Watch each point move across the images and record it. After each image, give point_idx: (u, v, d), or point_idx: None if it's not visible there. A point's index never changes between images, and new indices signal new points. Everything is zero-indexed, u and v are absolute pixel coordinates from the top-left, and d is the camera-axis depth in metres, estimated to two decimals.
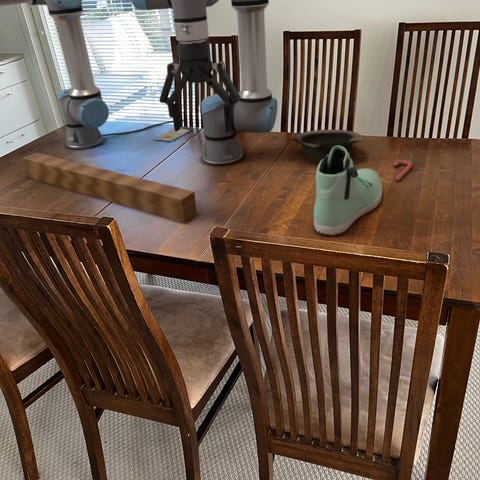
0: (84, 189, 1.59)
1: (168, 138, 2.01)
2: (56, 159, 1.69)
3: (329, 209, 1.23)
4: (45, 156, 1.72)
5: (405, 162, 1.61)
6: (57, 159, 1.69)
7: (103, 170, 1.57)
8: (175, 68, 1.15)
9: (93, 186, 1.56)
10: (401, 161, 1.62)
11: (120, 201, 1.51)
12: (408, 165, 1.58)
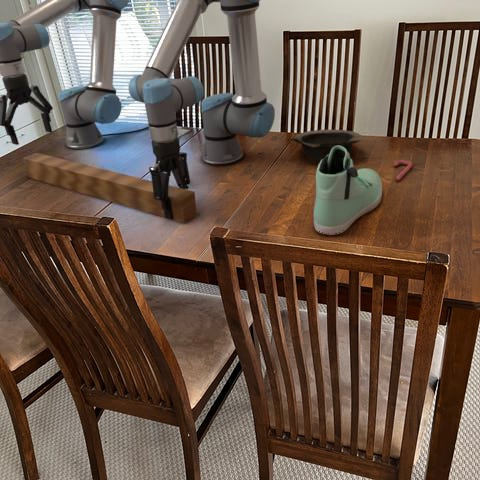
0: (84, 189, 1.59)
1: None
2: (56, 159, 1.69)
3: (329, 209, 1.23)
4: (45, 156, 1.72)
5: (405, 162, 1.61)
6: (57, 159, 1.69)
7: (103, 170, 1.57)
8: (158, 168, 1.31)
9: (93, 186, 1.56)
10: (401, 161, 1.62)
11: (120, 201, 1.51)
12: (408, 165, 1.58)
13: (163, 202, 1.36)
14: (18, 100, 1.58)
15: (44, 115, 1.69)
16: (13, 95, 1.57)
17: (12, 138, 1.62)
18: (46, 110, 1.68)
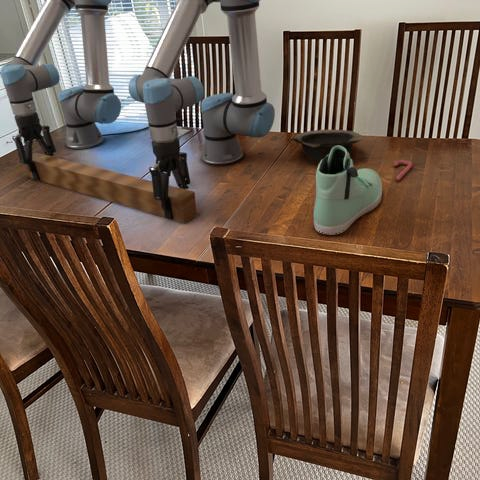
0: (84, 189, 1.59)
1: None
2: (56, 159, 1.69)
3: (329, 209, 1.23)
4: (45, 156, 1.73)
5: (405, 162, 1.61)
6: (57, 159, 1.69)
7: (103, 170, 1.57)
8: (158, 168, 1.31)
9: (93, 186, 1.56)
10: (401, 161, 1.62)
11: (120, 201, 1.51)
12: (408, 165, 1.58)
13: (163, 202, 1.36)
14: (31, 137, 1.65)
15: None
16: (25, 132, 1.64)
17: (33, 174, 1.72)
18: (50, 152, 1.73)
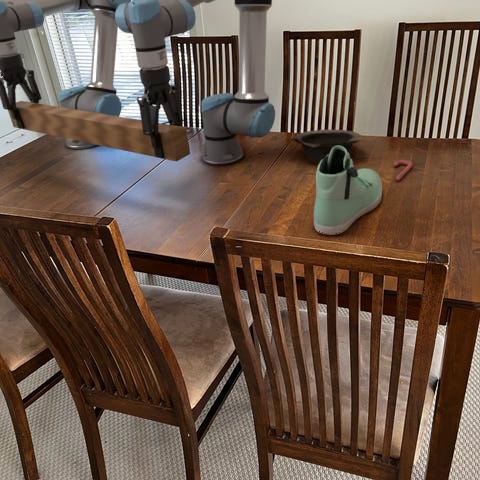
0: (71, 134, 1.50)
1: None
2: (41, 105, 1.59)
3: (329, 209, 1.23)
4: (30, 103, 1.63)
5: (405, 162, 1.61)
6: (42, 105, 1.59)
7: (90, 113, 1.47)
8: (146, 98, 1.21)
9: (79, 129, 1.46)
10: (401, 161, 1.62)
11: (108, 143, 1.41)
12: (408, 165, 1.58)
13: (153, 138, 1.27)
14: (14, 81, 1.56)
15: None
16: (7, 75, 1.54)
17: (18, 122, 1.62)
18: (35, 99, 1.64)
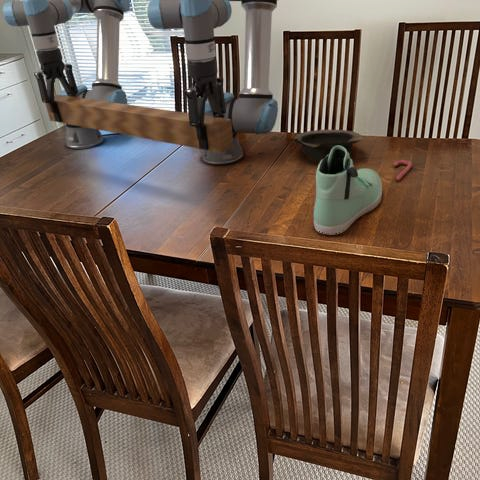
0: (111, 126, 1.52)
1: None
2: (79, 99, 1.61)
3: (329, 209, 1.23)
4: (68, 96, 1.65)
5: (405, 162, 1.61)
6: (80, 99, 1.61)
7: (131, 105, 1.50)
8: (194, 90, 1.24)
9: (120, 122, 1.48)
10: (401, 161, 1.62)
11: (150, 136, 1.44)
12: (408, 165, 1.58)
13: (198, 129, 1.29)
14: (53, 75, 1.58)
15: None
16: (47, 69, 1.56)
17: (55, 115, 1.64)
18: (72, 93, 1.66)
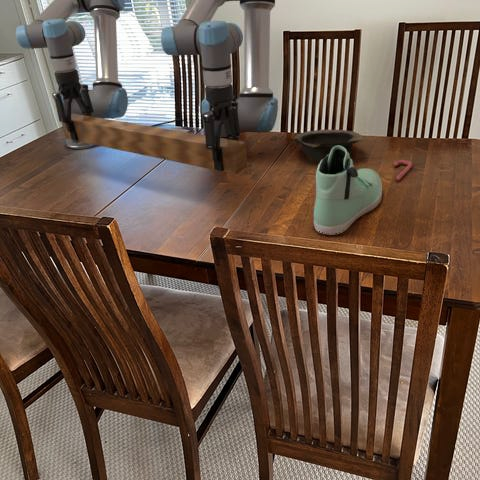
0: (127, 146, 1.56)
1: None
2: (95, 118, 1.66)
3: (329, 209, 1.23)
4: (83, 116, 1.69)
5: (405, 162, 1.61)
6: (96, 118, 1.66)
7: (146, 126, 1.54)
8: (211, 115, 1.28)
9: (136, 142, 1.53)
10: (401, 161, 1.62)
11: (165, 156, 1.48)
12: (408, 165, 1.58)
13: (214, 152, 1.33)
14: (70, 95, 1.62)
15: None
16: (64, 90, 1.61)
17: (72, 134, 1.69)
18: (88, 112, 1.70)
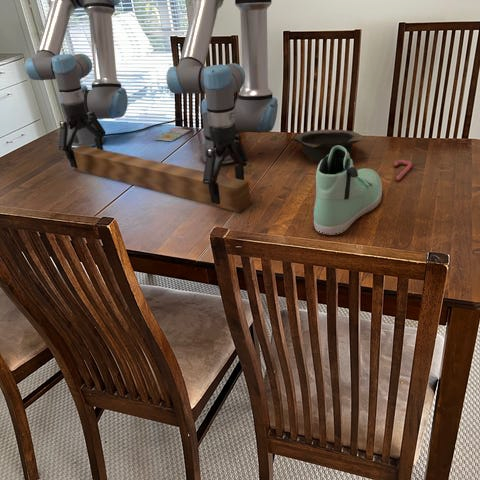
0: (134, 180, 1.63)
1: (168, 138, 2.01)
2: (103, 151, 1.72)
3: (329, 209, 1.23)
4: (92, 148, 1.76)
5: (405, 162, 1.61)
6: (104, 151, 1.72)
7: (153, 161, 1.60)
8: (214, 151, 1.33)
9: (143, 177, 1.59)
10: (401, 161, 1.62)
11: (171, 191, 1.54)
12: (408, 165, 1.58)
13: (211, 186, 1.36)
14: (77, 126, 1.67)
15: (98, 139, 1.78)
16: (73, 121, 1.66)
17: (71, 161, 1.71)
18: (100, 135, 1.77)
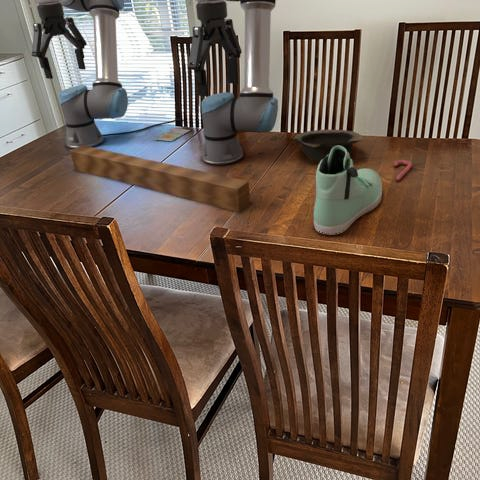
0: (134, 180, 1.63)
1: (168, 138, 2.01)
2: (103, 151, 1.72)
3: (329, 209, 1.23)
4: (92, 148, 1.76)
5: (405, 162, 1.61)
6: (104, 151, 1.72)
7: (153, 161, 1.60)
8: (202, 31, 1.17)
9: (143, 177, 1.59)
10: (401, 161, 1.62)
11: (171, 191, 1.54)
12: (408, 165, 1.58)
13: (198, 73, 1.19)
14: (53, 30, 1.51)
15: (78, 50, 1.62)
16: (48, 24, 1.50)
17: (46, 71, 1.55)
18: (80, 45, 1.61)
